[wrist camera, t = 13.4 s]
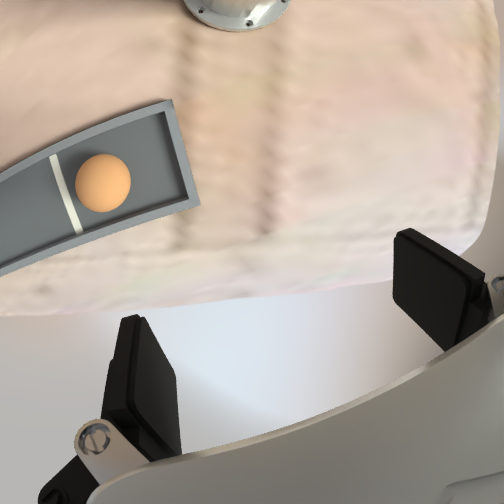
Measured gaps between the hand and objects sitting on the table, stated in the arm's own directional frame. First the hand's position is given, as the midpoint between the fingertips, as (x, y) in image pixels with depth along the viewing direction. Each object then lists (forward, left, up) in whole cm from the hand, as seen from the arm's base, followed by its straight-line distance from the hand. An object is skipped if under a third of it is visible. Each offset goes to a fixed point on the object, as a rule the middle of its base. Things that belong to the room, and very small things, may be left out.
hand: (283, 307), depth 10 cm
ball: (-3, -11, -23) cm, 26 cm away
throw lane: (-4, -19, -26) cm, 33 cm away
